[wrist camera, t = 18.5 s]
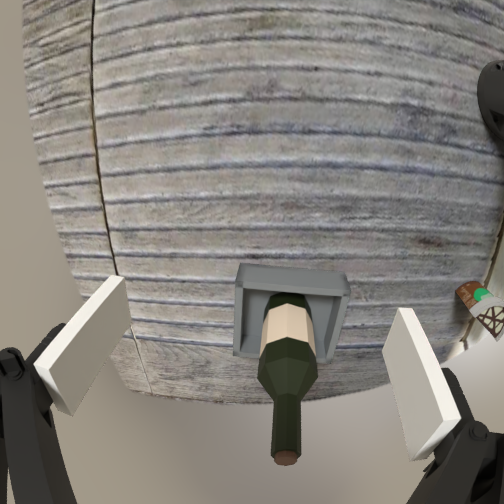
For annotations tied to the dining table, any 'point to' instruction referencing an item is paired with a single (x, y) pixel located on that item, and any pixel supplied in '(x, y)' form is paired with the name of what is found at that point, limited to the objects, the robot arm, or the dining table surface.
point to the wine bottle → (287, 369)
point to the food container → (484, 307)
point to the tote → (296, 281)
